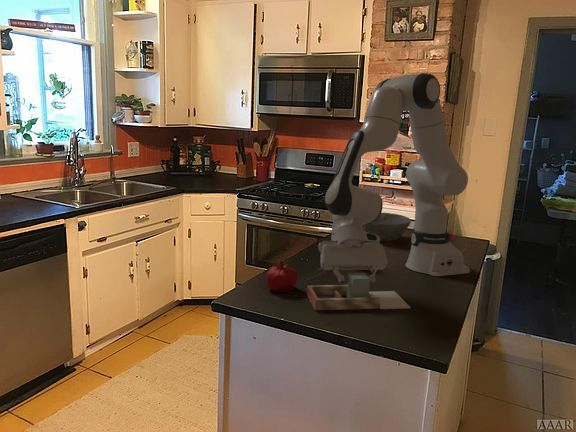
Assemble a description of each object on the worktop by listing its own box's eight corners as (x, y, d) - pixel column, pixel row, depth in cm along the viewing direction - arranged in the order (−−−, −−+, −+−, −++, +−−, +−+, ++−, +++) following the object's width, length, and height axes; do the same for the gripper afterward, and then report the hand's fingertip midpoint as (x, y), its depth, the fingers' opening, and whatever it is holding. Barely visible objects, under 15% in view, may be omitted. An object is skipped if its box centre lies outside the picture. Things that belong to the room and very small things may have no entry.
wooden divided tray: (367, 293, 149) (367, 284, 148) (379, 308, 138) (380, 298, 137) (310, 294, 146) (310, 285, 145) (318, 310, 135) (319, 300, 134)
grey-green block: (362, 297, 145) (364, 272, 144) (367, 304, 141) (370, 278, 139) (346, 298, 145) (348, 272, 143) (351, 304, 140) (353, 278, 138)
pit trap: (335, 294, 147) (335, 284, 147) (345, 309, 136) (346, 299, 136) (306, 294, 146) (307, 285, 145) (315, 310, 135) (315, 300, 134)
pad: (394, 292, 151) (394, 291, 151) (410, 308, 139) (410, 307, 139) (366, 292, 149) (366, 291, 149) (380, 309, 137) (380, 307, 137)
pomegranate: (294, 297, 144) (296, 267, 142) (262, 293, 146) (263, 264, 144) (299, 285, 154) (301, 257, 151) (269, 281, 155) (270, 254, 153)
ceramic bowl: (377, 230, 229) (379, 210, 227) (419, 241, 213) (421, 219, 210) (346, 237, 214) (348, 215, 212) (389, 249, 198) (391, 226, 196)
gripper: (319, 235, 145) (325, 277, 137) (384, 235, 148) (393, 276, 141) (315, 245, 150) (320, 286, 143) (378, 245, 153) (386, 285, 146)
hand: (357, 281), depth 142 cm, fingers open, 8 cm apart
